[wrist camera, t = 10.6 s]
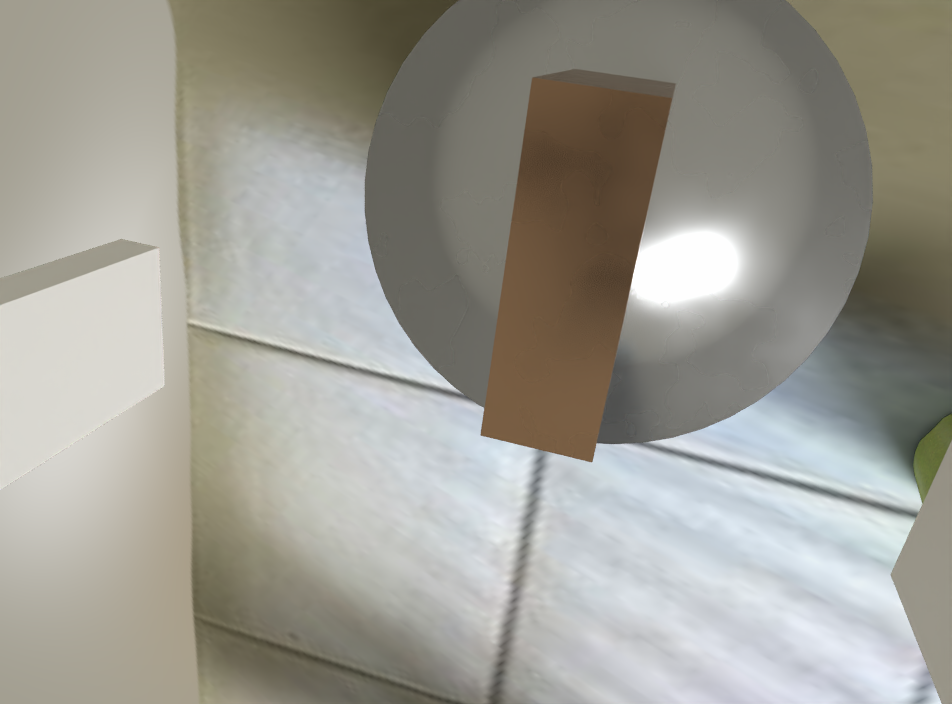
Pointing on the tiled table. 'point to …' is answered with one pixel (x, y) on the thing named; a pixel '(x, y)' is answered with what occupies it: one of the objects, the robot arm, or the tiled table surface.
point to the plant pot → (931, 454)
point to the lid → (617, 210)
